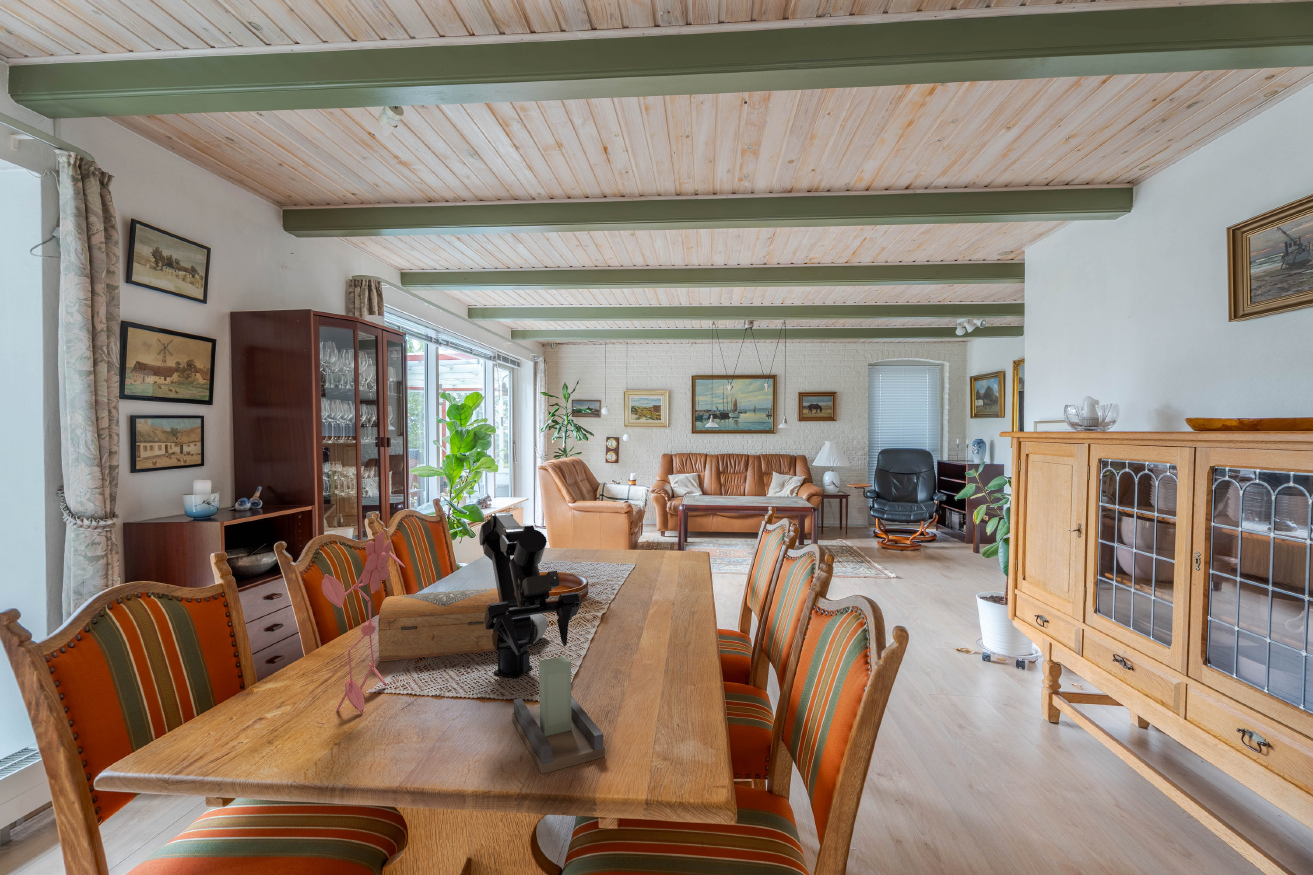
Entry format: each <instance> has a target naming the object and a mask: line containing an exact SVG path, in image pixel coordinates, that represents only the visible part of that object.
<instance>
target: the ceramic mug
mask: <svg viewBox="0 0 1313 875" xmlns="http://www.w3.org/2000/svg"><path fill="white" fill-rule="evenodd" d="M530 617H531V618H532V619H533V621H534V623H535V624H536V627H535V633H534V642H533V645H534V644H536V643H537V642H538V641H539V640H540V639H541V638H542V637H543V636H544V635H545V633H546V632H547V630H548V620H547V618H546V616H545V615H544V613H541V614H534V615H530ZM531 646H532V645H528V647H531Z"/></svg>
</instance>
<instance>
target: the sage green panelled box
mask: <svg viewBox="0 0 1313 875" xmlns="http://www.w3.org/2000/svg"><path fill="white" fill-rule="evenodd" d="M538 672H539V673H538V674H539V676H538V677H539V679H538V680H539V683H538V684H539V688H538V689H539V707H540V729H541V730H542V732H543V734H544V735H545V736H549V735H553V734H557V733H561V732H565V731H569V730H572V724H571V695H572V661H571V660H570V659H569V657H568V656H567V655H562V656H557V657H551V658H545V659H541V660H539V661H538Z"/></svg>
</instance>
